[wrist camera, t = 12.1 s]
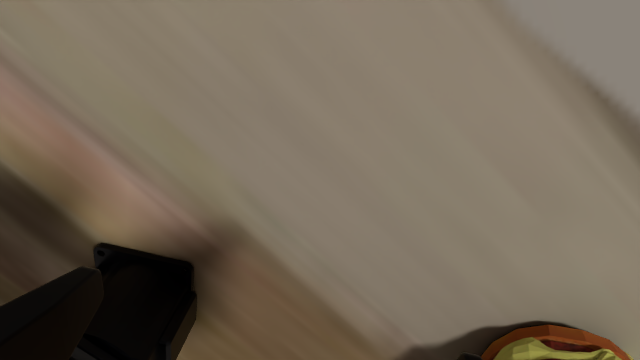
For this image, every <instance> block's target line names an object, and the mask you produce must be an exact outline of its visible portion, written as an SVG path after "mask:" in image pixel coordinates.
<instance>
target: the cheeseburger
mask: <svg viewBox="0 0 640 360" xmlns="http://www.w3.org/2000/svg"><path fill="white" fill-rule="evenodd" d="M481 358H482V359H483V360H633V359H632V358H631V356H630V355H629V354H627V353H625V352H624V351H622V350H621V349H620V348H619V347H617V346H616V345H615V344H614V343H613V342H611V341H610V340H608V339H606V338H603V337H600V336H597V335H594V334H592V333H589V332H586V331H583V330H579V329H573V328H566V327H560V326H554V325H542V326H535V327H527V328H520V329H516V330H514V331H512V332H510V333H508V334H507V335H505V336H503V337H501V338H499V339H498V340H496V341H494V342H493V343H492V344H491V345H490V346H489V347H488V349H487V350H486V351H485V352H484V353H483V355H482V356H481Z"/></svg>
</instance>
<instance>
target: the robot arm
mask: <svg viewBox="0 0 640 360" xmlns="http://www.w3.org/2000/svg"><path fill="white" fill-rule="evenodd" d="M93 252H94V259H95V266H96V268H91V267H87V266H82V267H79V268H77V269H75V270H73V271H71V272H69V273H67V274H65V275H63V276H61V277H59V278H57V279H55V280H53V281H51V282H49V283H47V284H45V285H43V286H41V287H39V288H36V289H34V290H32V291H30V292H28V293H26V294H24V295H22V296H20V297H18V298H16V299H14V300H12V301H10V302H8V303H6V304H4V305H2V306H0V360H176V359H177V357H178V355H179V353H180V351H181V349H182V346H183V344H184V342H185V340H186V338H187V336H188V334H189V332H190V330H191V328H192V326H193V324H194V322H195V320H196V307H197V295H196V293H195V291H193V289H194V267H193V266H192V265H191V264H190V263H188V262H184V261H180V260H175V259H171V258H166V257H162V256H157V255H153V254H149V253H144V252H140V251H135V250H131V249H126V248H122V247H117V246H113V245H108V244H104V243H100V244H98V245H97V246H96V247H95V249H94V251H93ZM184 269H185V270H184ZM186 270H187V271H186ZM457 360H483V359H482V358H481V357H480V356H479V355H476V354H471V353H467V352H463V353H461V354H460V355H459V357H458V359H457Z"/></svg>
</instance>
